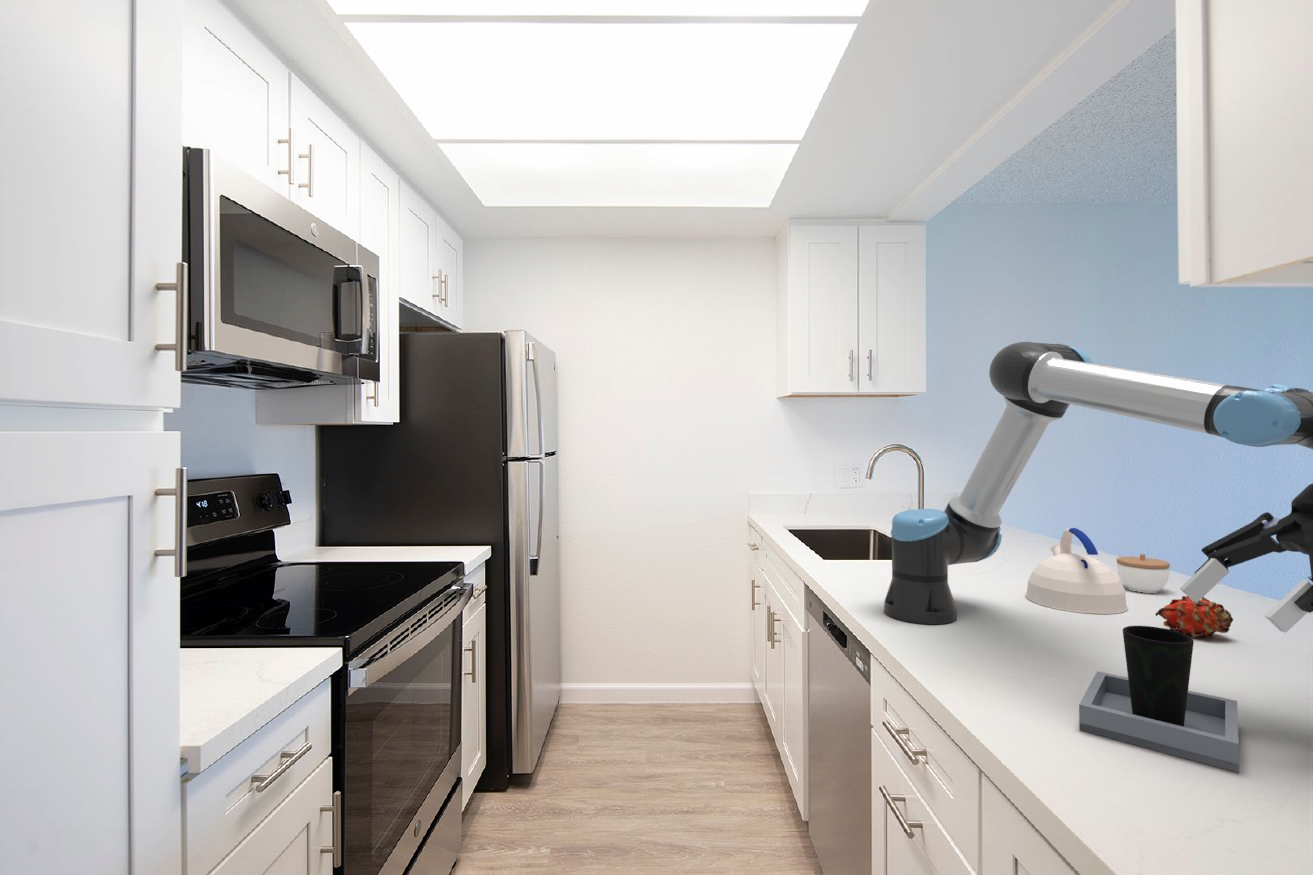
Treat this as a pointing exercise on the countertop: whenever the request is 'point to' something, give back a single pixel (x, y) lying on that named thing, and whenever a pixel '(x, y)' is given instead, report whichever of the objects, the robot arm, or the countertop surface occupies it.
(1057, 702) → the countertop surface
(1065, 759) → the countertop surface
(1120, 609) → the kettle
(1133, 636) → the cup
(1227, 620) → the dragon fruit
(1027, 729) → the countertop surface
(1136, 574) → the lidded jar
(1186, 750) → the box
